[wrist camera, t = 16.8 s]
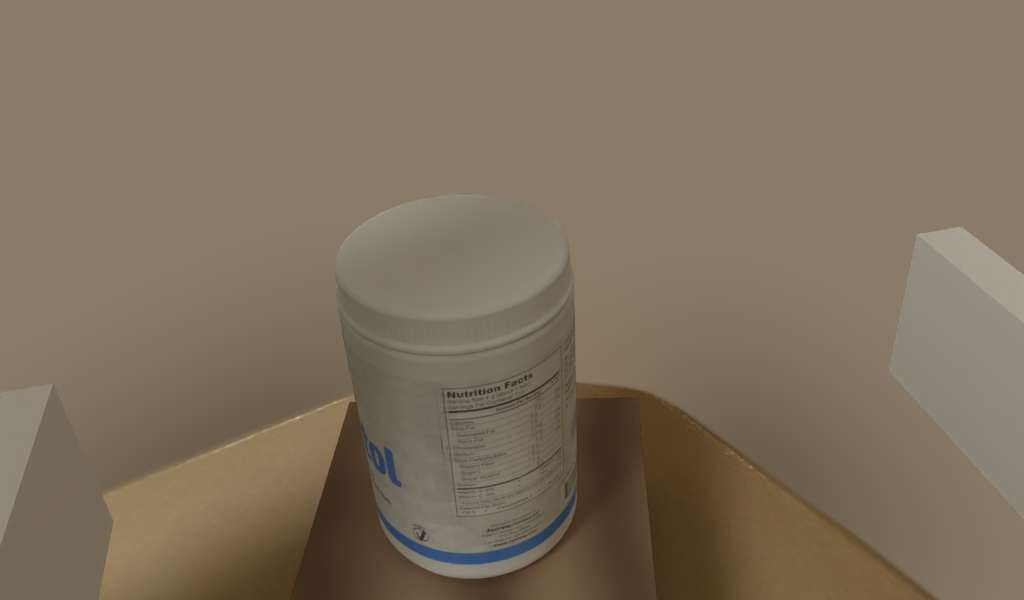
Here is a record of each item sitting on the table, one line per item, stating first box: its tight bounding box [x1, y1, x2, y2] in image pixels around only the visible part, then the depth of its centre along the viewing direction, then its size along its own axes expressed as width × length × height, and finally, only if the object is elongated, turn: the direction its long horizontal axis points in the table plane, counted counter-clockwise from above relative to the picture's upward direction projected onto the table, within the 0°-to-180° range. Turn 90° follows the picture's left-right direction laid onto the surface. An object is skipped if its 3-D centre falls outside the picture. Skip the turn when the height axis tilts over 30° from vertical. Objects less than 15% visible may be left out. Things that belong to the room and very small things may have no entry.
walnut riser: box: [290, 398, 657, 600], centre depth 46 cm, size 16×16×6 cm
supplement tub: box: [335, 194, 577, 579], centre depth 40 cm, size 10×10×15 cm
